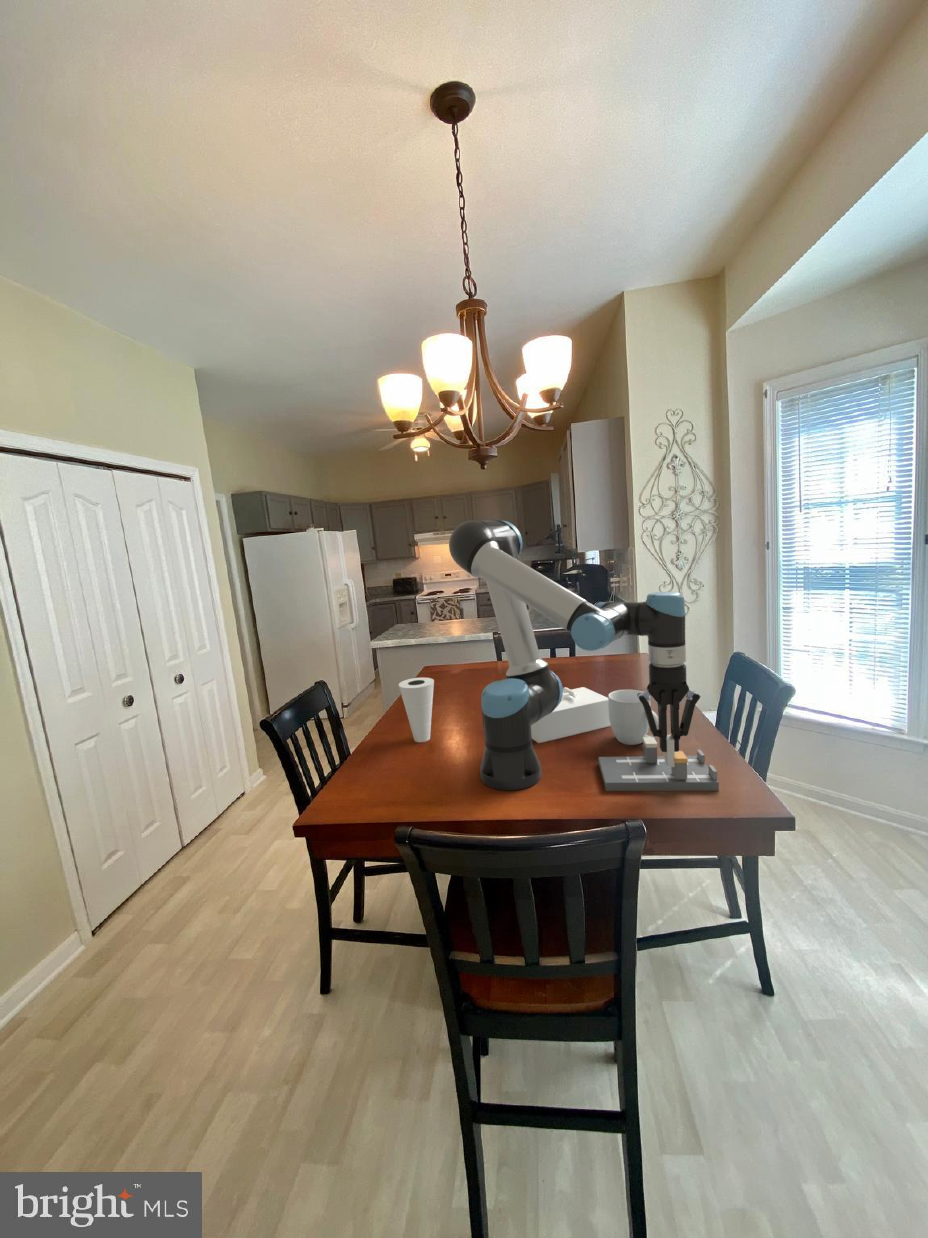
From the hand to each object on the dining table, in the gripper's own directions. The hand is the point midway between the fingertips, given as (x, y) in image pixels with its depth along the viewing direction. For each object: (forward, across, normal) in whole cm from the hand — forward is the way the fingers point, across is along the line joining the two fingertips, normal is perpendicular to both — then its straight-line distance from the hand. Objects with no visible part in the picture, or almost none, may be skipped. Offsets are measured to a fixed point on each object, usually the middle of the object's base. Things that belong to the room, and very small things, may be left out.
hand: (669, 764), depth 108 cm
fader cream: (+3, -2, +8) cm, 9 cm away
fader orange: (+3, +2, 0) cm, 4 cm away
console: (+5, -2, +4) cm, 7 cm away
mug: (+5, -4, +24) cm, 25 cm away
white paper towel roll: (+5, -65, +28) cm, 71 cm away
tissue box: (+5, -22, +36) cm, 43 cm away
